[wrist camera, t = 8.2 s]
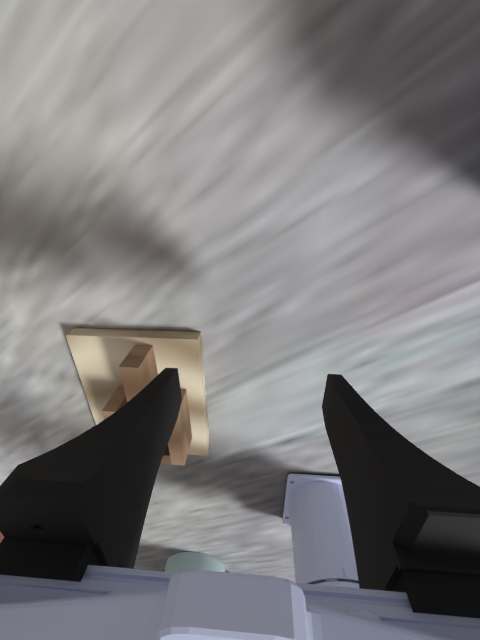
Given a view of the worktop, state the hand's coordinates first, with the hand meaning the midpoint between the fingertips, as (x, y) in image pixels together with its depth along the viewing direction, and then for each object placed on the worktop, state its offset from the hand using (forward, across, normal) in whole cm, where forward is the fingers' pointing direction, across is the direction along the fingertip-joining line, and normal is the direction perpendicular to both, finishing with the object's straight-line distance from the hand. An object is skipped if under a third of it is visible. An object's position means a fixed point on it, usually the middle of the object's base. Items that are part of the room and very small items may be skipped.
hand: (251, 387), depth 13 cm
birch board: (+9, +10, +10) cm, 17 cm away
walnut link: (+8, +9, +9) cm, 15 cm away
